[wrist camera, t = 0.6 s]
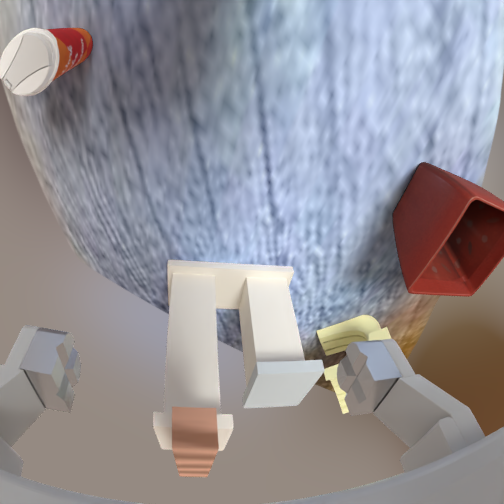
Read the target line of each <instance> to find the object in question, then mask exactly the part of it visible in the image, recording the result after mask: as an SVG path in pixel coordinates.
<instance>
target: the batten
mask: <svg viewBox="0 0 504 504" xmlns="http://www.w3.org/2000/svg"><path fill="white" fill-rule="evenodd" d="M172 449H173V453H174V457H175V461H176V465H177V468H178V472H179V476H183V477H207V476H208V474H209V471H210V469H211V467H212V464H213V461H214V459H215V456H216V454H217V452H218V449H219V444H218V429H217V412H216V408H194V407H172Z"/></svg>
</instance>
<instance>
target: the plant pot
mask: <svg viewBox="0 0 504 504" xmlns="http://www.w3.org/2000/svg"><path fill="white" fill-rule="evenodd" d="M393 227H394V235H395V241H396V247H397V252H398V257H399V262H400V266H401V270H402V274H403V277H404V281H405V284H406V287H407V290H408V292H409V293H411V294H426V295H446V296H472V295H473V294H474V293H475V292H476V291H477V290H478V289H479V287H480V286H481V285H482V284H483V283H484V281H485V280H486V279H487V278H488V277H489V275H490V274H491V273H492V272H493V270H494V269H495V268H496V266H497V265H498V264H499V262H500V261H501V259H502V258H503V257H504V201H502V200H501V199H499V198H498V197H496V196H495V195H493V194H492V193H490V192H488V191H487V190H485V189H483V188H481V187H480V186H478V185H476V184H474V183H472V182H470V181H468V180H465V179H463V178H461V177H459V176H456V175H454V174H452V173H450V172H447V171H445V170H443V169H440V168H438V167H436V166H433V165H431V164H429V163H426V162H423V163H421V164H420V165H419V166H418V168H417V170H416V172H415V174H414V176H413V178H412V179H411V181H410V183H409V185H408V187H407V189H406V190H405V192H404V194H403V196H402V198H401V200H400V201H399V203H398V205H397V207H396V209H395V210H394V212H393Z"/></svg>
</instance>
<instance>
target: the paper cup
mask: <svg viewBox="0 0 504 504" xmlns="http://www.w3.org/2000/svg"><path fill="white" fill-rule="evenodd" d="M92 46H93V41H92V37H91V35H90V34H89V33H88V32H87V31H86V30H84V29H81V28H59V29H39V28H31V29H27V30H24V31H22V32H21V33H19V34H18V35H17V36H15V37H14V38H13V39H12V41H11V42H10V43H9V44H8V45H7V47H6V48H5V50H4V52H3V54H2V56H1V60H0V77H1V80H3V81H4V84H5V85H6V87H7V88H8V89H10V90H11V91H12V93H14V94H17V95H22V96H32V95H36V94H38V93H40V92H42V91H43V90H44V89H45V88H47V87H48V86H49V84H50V83H51V82H52V81H53V80H55V79H56V78H58V77H59V76H61V75H63V74H64V73H66V72H67V71H69V70H71V69H72V68H74V67H75V66H77V65H78V64H80V63H82V62H83V61H84V60H85V59H86V58H87V57H88V56H89V54H90V53H91V50H92Z"/></svg>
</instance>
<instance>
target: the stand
mask: <svg viewBox="0 0 504 504" xmlns="http://www.w3.org/2000/svg"><path fill="white" fill-rule="evenodd" d="M167 266H168V305H169V306H170V308H169V320H168V334H167V349H166V350H167V351H166V366H165V388H164V389H165V390H164V413H162V412H154V413H153V427H154V430H155V433H156V435H157V438H158V441H159V443H160V446H161V448H162V449H169V450H173V449H172V407H194V408H216V412H217V429H218V444H219V449H218V451H223V450H224V448H225V446H226V444H227V441H228V439H229V437H230V435H231V433H232V430H233V416H232V415H231V414H229V415H226V414H221V405H220V389H219V388H220V387H219V368H218V348H217V322H216V308H218V309H239V315H240V325H241V336H242V346H243V356H244V366H245V377H246V386H247V387H246V390H245V392H244V395H243V397H242V402H243V408H260V407H261V408H262V407H280V406H295V405H298V404H299V403H300V402H301V400H302V399H303V398H304V397H305V395H306V394H307V393H308V392H309V391H310V389H311V388H312V387H313V385H314V384H315V383H316V382H317V380H318V379H319V378H320V377H321V375H322V374H323V373H324V371H325V370H324V366H323V362H322V360H306V361H305V358H304V354H303V349H302V345H301V340H300V335H299V331H298V327H297V322H296V318H295V313H294V309H293V305H292V300H291V296H290V292H289V284H290V282H291V279H292V276H293V273H294V270H293V267H289V266H270V265H252V264H235V263H218V262H201V261H185V260H169V259H168V265H167Z"/></svg>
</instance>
